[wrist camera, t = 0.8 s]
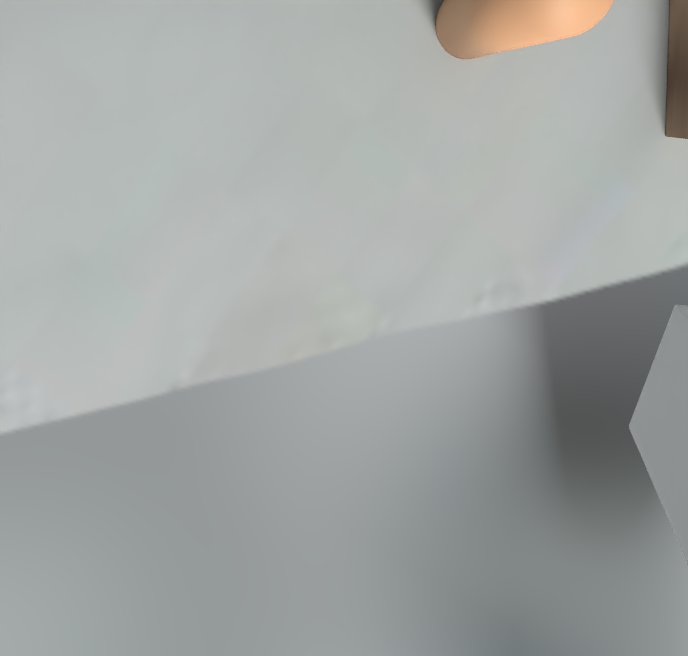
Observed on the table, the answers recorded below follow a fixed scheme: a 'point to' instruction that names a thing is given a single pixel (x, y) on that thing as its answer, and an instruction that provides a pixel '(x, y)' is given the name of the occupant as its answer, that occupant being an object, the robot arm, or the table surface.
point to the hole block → (677, 71)
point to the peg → (512, 23)
